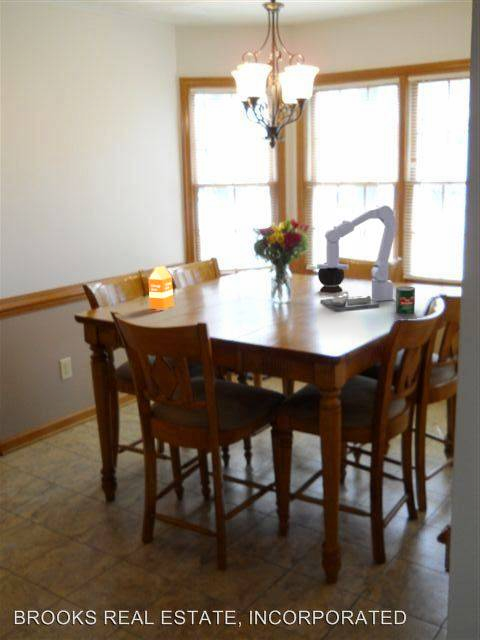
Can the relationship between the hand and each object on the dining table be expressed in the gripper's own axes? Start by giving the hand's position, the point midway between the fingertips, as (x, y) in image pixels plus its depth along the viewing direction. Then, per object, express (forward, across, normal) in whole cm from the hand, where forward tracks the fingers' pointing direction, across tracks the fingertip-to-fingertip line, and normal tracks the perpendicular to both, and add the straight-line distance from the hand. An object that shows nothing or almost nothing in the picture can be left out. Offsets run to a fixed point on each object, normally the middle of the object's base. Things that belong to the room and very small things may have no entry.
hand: (332, 284), depth 323 cm
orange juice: (+9, -75, -30) cm, 81 cm away
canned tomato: (+9, +36, -16) cm, 40 cm away
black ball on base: (+9, -7, +25) cm, 28 cm away
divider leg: (+7, +6, -3) cm, 10 cm away
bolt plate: (+8, +9, -5) cm, 13 cm away
